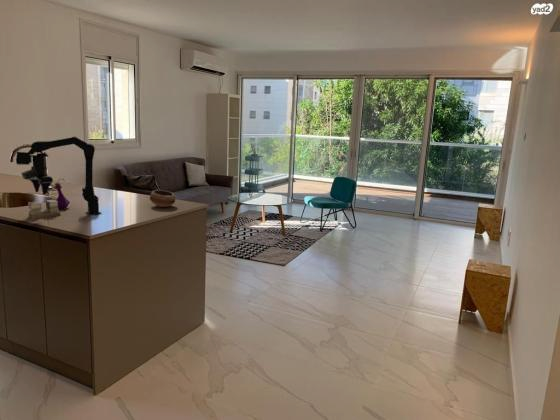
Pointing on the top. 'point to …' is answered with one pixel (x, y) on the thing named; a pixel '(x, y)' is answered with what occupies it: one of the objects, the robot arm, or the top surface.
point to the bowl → (162, 198)
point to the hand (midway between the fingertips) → (40, 193)
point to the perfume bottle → (61, 197)
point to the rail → (40, 211)
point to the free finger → (52, 205)
